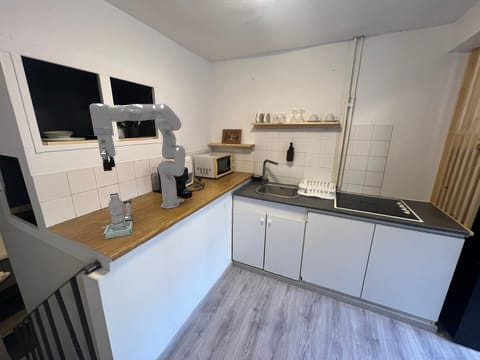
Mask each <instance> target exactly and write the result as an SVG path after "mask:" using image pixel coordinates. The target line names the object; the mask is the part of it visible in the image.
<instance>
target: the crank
mask: <svg viewBox="0 0 480 360" xmlns="http://www.w3.org/2000/svg"><path fill="white" fill-rule="evenodd" d="M122 202H123V205H125V209H126V213H125V215H124V219H125V222H127V221H130V220H131V218H132V216H131V213H132V209H131V204H132V203H133V201H132V200H126V201H122Z"/></svg>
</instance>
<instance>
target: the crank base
mask: <svg viewBox="0 0 480 360" xmlns="http://www.w3.org/2000/svg"><path fill="white" fill-rule="evenodd" d="M130 221H132V223H133V224H134V222H135V221H134V218H132V217H131V220H130ZM127 222H129V221H127ZM106 227H107V226H102V227H100V229H106Z"/></svg>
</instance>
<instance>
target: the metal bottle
mask: <svg viewBox="0 0 480 360" xmlns="http://www.w3.org/2000/svg"><path fill="white" fill-rule="evenodd" d="M109 199H110V200H109V202H108V204H107V207H108V209H109V213H110V215H111V216H110V217H111V224H112V230H113V231H114V232H115V231H121V230H125V229H126V222H125V219H124V216H125V214H124V204H123V202H124V201H123V200H121V198H120V195H119V193H117V192H116V193H110V194H109Z"/></svg>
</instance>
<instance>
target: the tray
mask: <svg viewBox="0 0 480 360" xmlns="http://www.w3.org/2000/svg"><path fill="white" fill-rule="evenodd" d="M105 227H106V228H105V230H104V233H103V237H104V240H105V241H106V240H111V239H115V238H116V239H117V238H122V237H126V236H127V237H128V236H131V235H132V234H133V227H134V223H132V221H129V222H126V229H125V230H121V231H115V232H114V231H113V230H112V223H111V224H110V223H109V224H107V225H106V226H105Z"/></svg>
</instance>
